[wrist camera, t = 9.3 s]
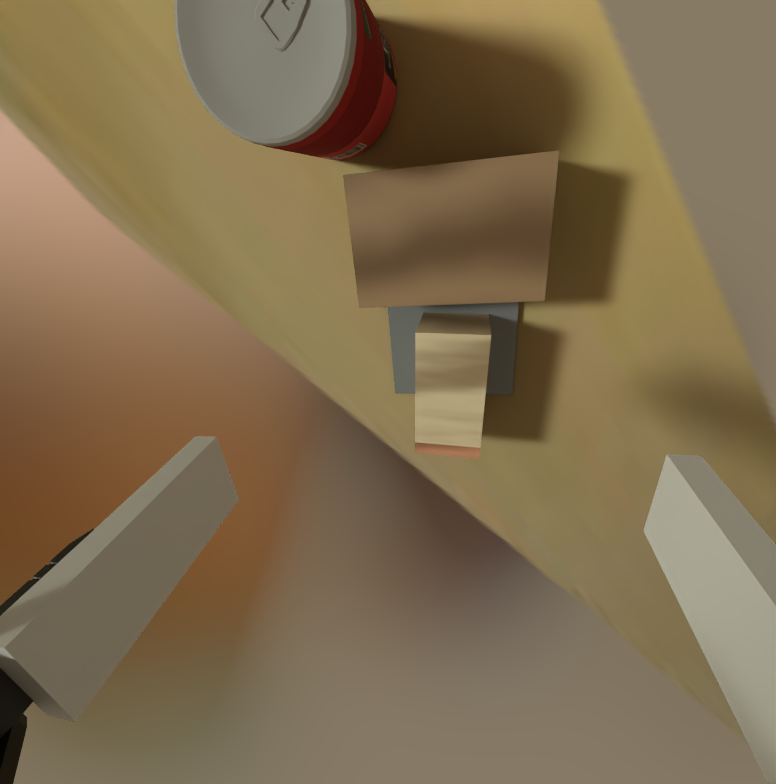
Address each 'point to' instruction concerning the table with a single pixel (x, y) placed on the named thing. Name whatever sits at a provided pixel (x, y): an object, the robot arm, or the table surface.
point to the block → (451, 382)
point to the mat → (500, 314)
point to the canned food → (290, 71)
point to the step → (453, 231)
